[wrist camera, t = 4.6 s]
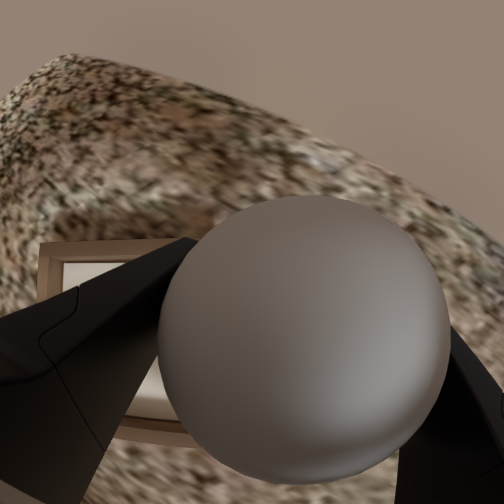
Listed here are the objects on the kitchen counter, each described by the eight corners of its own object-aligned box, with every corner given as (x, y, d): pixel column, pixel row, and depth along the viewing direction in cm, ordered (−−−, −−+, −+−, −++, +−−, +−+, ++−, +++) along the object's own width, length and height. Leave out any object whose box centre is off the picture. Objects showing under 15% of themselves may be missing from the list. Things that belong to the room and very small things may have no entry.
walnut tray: (225, 433, 20) (221, 449, 17) (64, 412, 20) (44, 421, 17) (222, 246, 22) (217, 237, 19) (60, 250, 22) (40, 242, 19)
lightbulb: (222, 398, 14) (151, 555, 3) (205, 269, 15) (89, 168, 4) (352, 378, 14) (508, 475, 3) (335, 252, 15) (471, 131, 4)
